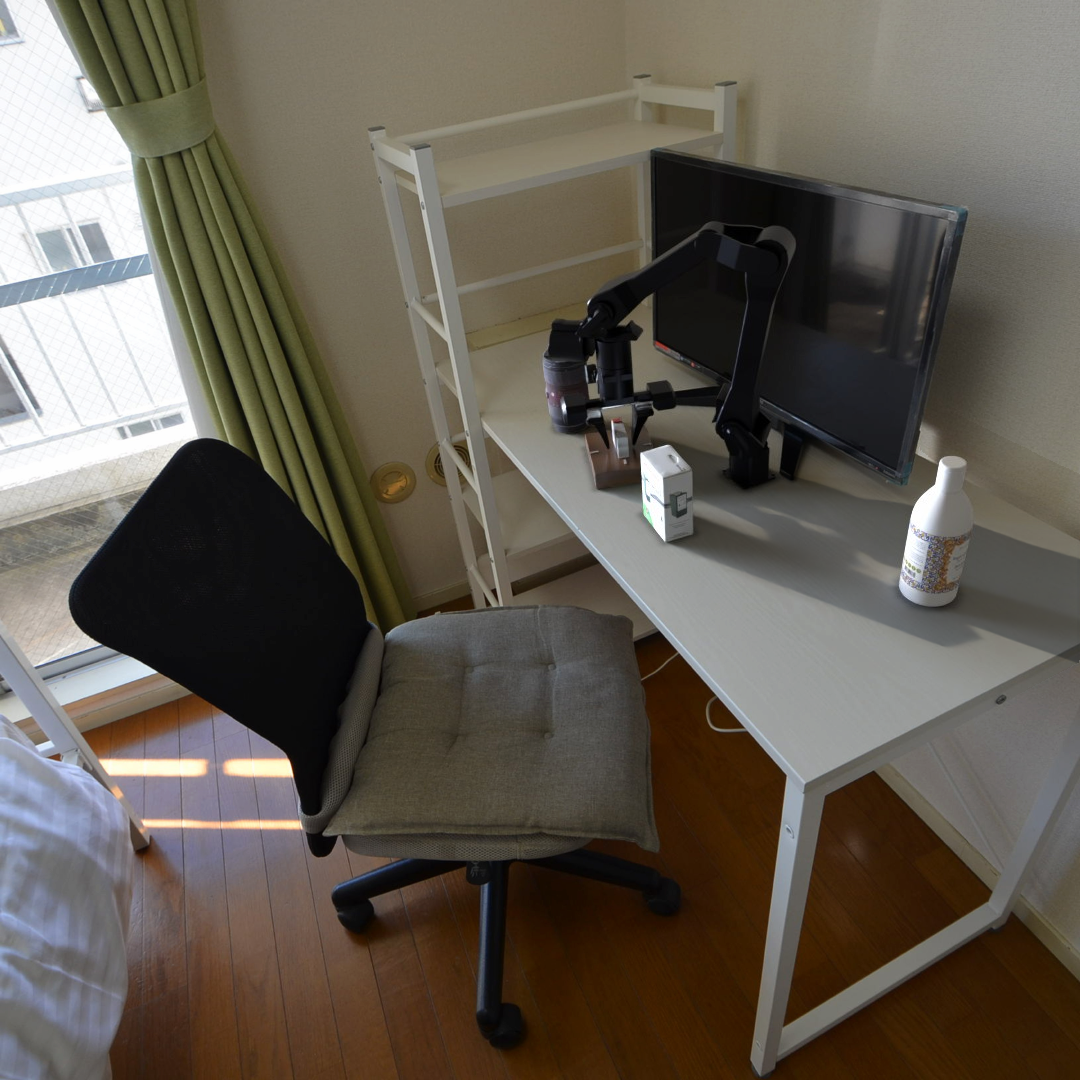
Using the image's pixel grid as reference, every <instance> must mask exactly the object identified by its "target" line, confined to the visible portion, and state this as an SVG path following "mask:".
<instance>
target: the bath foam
mask: <svg viewBox="0 0 1080 1080" xmlns="http://www.w3.org/2000/svg"><path fill="white" fill-rule="evenodd" d="M967 468H968V462H967V461H966V459H964V458H963V457H960V456H956V455H948V456H944V457H942V458H941V459H940V460H939V464H938V468H937V474H936V480H935V484H934V485H933V486H932V487H930V488H929V489H928V490H927V491H925V492H924V493H923V494H922V495H921V496H920V497H919V499H918V500H917V501H916V503H915V504H914V507H913V509H912V512H911V515H910V519H909V525H908V531H907V537H906V542H905V547H904V548H905V549H904V552H903V553H904V554H903V559H902V566H901V571H900V577H899V582H898V587H899V590H900V592H901V594H902V596H904V597H905V599H908V600H909V601H910V602H911V603H914V604H916V605H919V606H923V607H930V608H931V607H932V608H934V607H942V606H946V605H948V604H951V602H952V601H954V599H955V598H956V596H957V594H958V590H959V587H960V582H961V577H962V573H963V570H964V566H965V562H966V556H967V553H968V548H969V545H970V539H971V536H972V532H973V527H974V519H975V518H974V509H973V504H972V503H971V501H970V499H969V496H968V495H967V494H966V492H965V491H964V488H963V486H964V482H965V478H966V472H967Z"/></svg>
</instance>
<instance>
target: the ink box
mask: <svg viewBox="0 0 1080 1080" xmlns="http://www.w3.org/2000/svg"><path fill="white" fill-rule="evenodd" d="M641 471H642V482H641V488H642V507H643V516H644V517H645V518H646V519H647V521H648V522H649V524H650V525H651V526H652V527H653V529H655V531H656V533H657V534H658V535H659V536H660V538H661V539H663V541H664V543H667V542H668V543H669V542H671V541H676V540H678V539H682V538H685V537H688V536H691V535H693V534H694V508H693V507H694V505H693V504H694V503H693V500H694V499H693V470H692V468H691V466H690V465H689V464H688V463H687V461H685V459H683V457H682V456H681V455H680V454H679V453H678V451H676V449H675V448H674V447H673V446H672V445H671V444H665V445H662V446H659V447H655V448H654V449H651V450H647V451H644V452H641Z"/></svg>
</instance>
